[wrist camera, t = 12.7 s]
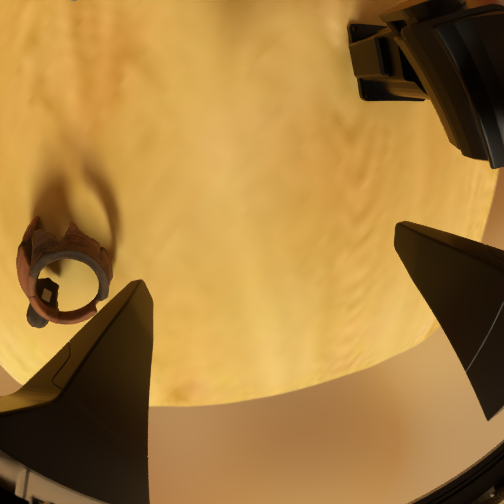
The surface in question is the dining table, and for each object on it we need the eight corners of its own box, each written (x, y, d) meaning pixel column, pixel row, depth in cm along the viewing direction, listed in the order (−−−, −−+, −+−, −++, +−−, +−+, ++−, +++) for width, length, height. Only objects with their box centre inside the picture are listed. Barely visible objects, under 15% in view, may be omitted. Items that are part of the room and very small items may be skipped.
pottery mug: (40, 183, 19) (31, 221, 14) (119, 220, 26) (140, 264, 21) (6, 285, 20) (1, 343, 15) (76, 307, 27) (90, 361, 22)
